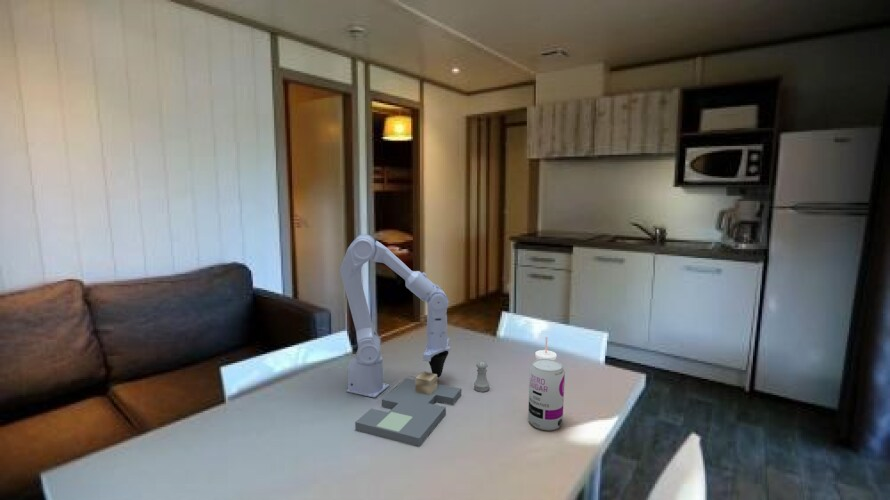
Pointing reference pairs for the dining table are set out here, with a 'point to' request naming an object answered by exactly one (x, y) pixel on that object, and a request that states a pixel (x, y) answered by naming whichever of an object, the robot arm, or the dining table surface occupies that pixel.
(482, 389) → the rook chess piece
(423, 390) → the oak block
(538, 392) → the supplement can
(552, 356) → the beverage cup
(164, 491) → the dining table surface
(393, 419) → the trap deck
